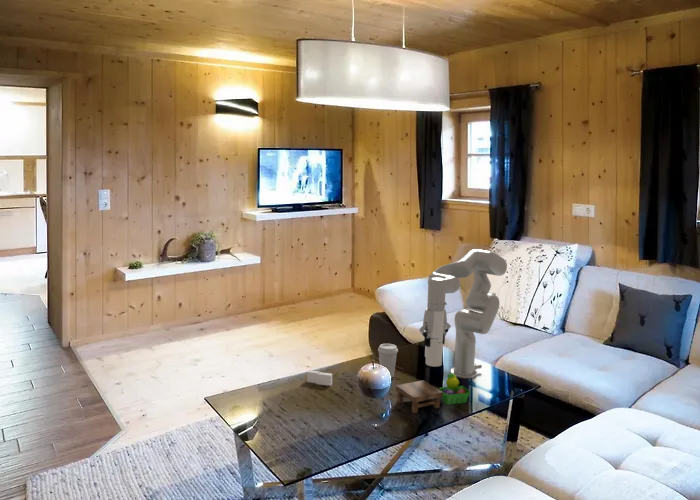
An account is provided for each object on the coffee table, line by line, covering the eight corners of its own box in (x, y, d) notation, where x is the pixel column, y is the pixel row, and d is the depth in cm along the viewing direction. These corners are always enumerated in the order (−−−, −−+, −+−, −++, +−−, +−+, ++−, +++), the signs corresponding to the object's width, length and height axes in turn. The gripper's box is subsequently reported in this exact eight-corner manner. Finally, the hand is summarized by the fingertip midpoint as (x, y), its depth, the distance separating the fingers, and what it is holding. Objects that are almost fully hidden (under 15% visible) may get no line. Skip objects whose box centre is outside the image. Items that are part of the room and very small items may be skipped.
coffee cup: (397, 373, 274) (398, 343, 272) (396, 381, 265) (398, 350, 262) (377, 372, 275) (378, 342, 273) (376, 379, 266) (377, 348, 263)
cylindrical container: (424, 360, 257) (426, 307, 253) (439, 360, 258) (442, 306, 253) (427, 366, 250) (429, 311, 246) (443, 366, 251) (446, 311, 246)
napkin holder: (339, 385, 259) (339, 373, 258) (318, 391, 252) (318, 379, 251) (319, 375, 270) (320, 364, 269) (299, 380, 263) (299, 369, 262)
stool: (422, 395, 249) (423, 380, 248) (441, 408, 237) (442, 392, 236) (395, 400, 243) (395, 385, 242) (413, 414, 231) (414, 397, 230)
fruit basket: (445, 406, 239) (447, 380, 237) (436, 397, 248) (438, 372, 246) (470, 403, 242) (471, 378, 240) (460, 395, 251) (462, 371, 249)
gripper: (446, 301, 256) (445, 339, 260) (414, 306, 249) (413, 345, 252) (457, 305, 250) (455, 344, 253) (424, 310, 242) (423, 350, 245)
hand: (434, 344), depth 252 cm, fingers closed on cylindrical container, 7 cm apart
